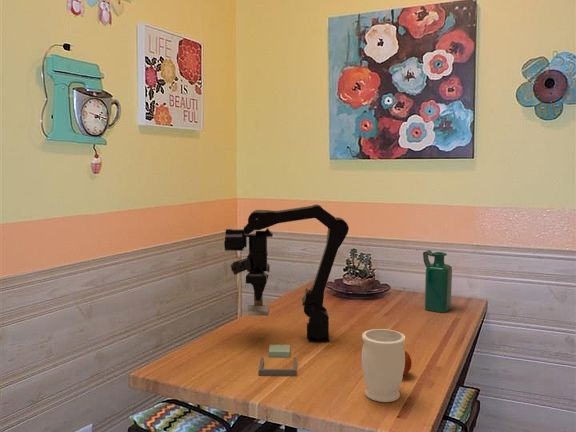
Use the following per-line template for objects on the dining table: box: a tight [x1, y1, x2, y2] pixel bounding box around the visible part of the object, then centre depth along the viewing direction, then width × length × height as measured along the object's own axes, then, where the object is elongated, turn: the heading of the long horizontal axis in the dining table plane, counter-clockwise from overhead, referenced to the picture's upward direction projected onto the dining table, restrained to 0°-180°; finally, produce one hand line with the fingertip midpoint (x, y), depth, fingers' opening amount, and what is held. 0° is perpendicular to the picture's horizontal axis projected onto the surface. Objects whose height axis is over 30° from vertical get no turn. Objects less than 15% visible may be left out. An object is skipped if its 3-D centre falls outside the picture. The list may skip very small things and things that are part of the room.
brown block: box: [247, 291, 270, 317], centre depth 168 cm, size 6×4×9 cm, turn 89°
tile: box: [268, 344, 291, 358], centre depth 157 cm, size 6×6×2 cm
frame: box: [258, 356, 297, 377], centre depth 146 cm, size 10×9×2 cm
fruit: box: [403, 350, 413, 376], centre depth 141 cm, size 7×7×8 cm
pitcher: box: [422, 249, 453, 314], centre depth 201 cm, size 10×8×22 cm
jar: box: [361, 328, 406, 403], centre depth 129 cm, size 11×10×15 cm
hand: (258, 299), depth 168 cm, fingers closed on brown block, 2 cm apart
